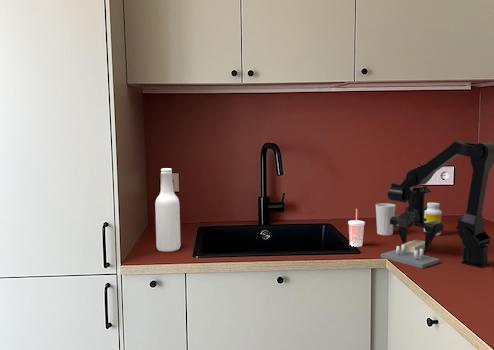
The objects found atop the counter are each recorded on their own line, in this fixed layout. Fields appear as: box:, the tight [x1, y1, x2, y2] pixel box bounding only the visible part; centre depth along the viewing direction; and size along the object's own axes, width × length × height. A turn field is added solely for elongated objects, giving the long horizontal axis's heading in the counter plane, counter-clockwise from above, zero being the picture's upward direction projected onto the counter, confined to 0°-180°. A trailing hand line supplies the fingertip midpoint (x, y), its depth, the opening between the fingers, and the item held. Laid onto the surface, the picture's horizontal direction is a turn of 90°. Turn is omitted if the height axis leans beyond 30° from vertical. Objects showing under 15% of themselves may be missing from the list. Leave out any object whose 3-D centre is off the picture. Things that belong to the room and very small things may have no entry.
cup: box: [375, 202, 397, 236], centre depth 202 cm, size 8×8×12 cm
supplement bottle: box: [423, 202, 443, 237], centre depth 200 cm, size 7×7×13 cm
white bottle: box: [154, 167, 181, 253], centre depth 180 cm, size 9×9×30 cm
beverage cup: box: [347, 208, 366, 248], centre depth 184 cm, size 6×6×14 cm
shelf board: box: [400, 238, 426, 254], centre depth 177 cm, size 5×11×3 cm, turn 135°
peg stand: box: [380, 244, 440, 269], centre depth 165 cm, size 16×10×4 cm, turn 37°
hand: (415, 246), depth 177 cm, fingers open, 9 cm apart
